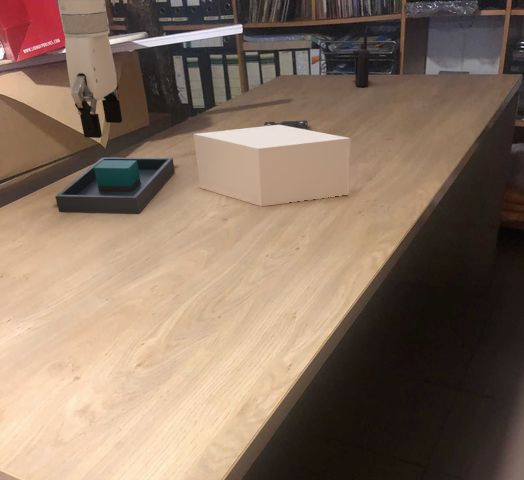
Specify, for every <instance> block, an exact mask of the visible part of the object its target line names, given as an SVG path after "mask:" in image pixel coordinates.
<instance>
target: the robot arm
mask: <svg viewBox="0 0 524 480" xmlns="http://www.w3.org/2000/svg"><path fill="white" fill-rule="evenodd" d="M57 5H58V10H59V14H60V15H59V16H60V21H61V25H62V26H61V27H62V30H63V35H64V47H65V48H64V49H65V59H66V68H67V74H68V75H67V76H68V81H69V86H70V95H71V98H72V100H73V101H74V107H75V108H76V109H77V113H78V115H79V118H80V122H81V129H82V132H83V133H82V134H83V136H84V138H86V139H88V138H91V139H100V138H102V136H103V133H102V126H101V121H100V117H99V116H100V115H99V113H96V112H97V104H98V101H100V100H101V103H102V108H103V109H102V110H103V114H104V120H105V122H106V123H108V124H109V123H112V124H120V123H122V122H123V115H122V110H121V109H122V108H121V102H120V94H119V83H118V70H117V69H116V66H115V60H114V56H113V50H112V46H111V43H110V38H109V34H110V25H109V18H108V13H107V7H106V0H57ZM89 102H90V104H89Z"/></svg>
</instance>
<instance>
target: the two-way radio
mask: <svg viewBox="0 0 524 480" xmlns="http://www.w3.org/2000/svg"><path fill="white" fill-rule="evenodd" d="M352 51H353V52H352V55H353V58H354V74H355V81H354V82H355V84H354V85H355V86H357V87H360V88H367V87H368V86H369V76H370V75H369V74H370V71H369V70H370V53H371V52H370V50H369V49H368V30H367V29H365V30H364V31H363V42H362V43H360V48H358V49H357V50H352Z"/></svg>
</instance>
